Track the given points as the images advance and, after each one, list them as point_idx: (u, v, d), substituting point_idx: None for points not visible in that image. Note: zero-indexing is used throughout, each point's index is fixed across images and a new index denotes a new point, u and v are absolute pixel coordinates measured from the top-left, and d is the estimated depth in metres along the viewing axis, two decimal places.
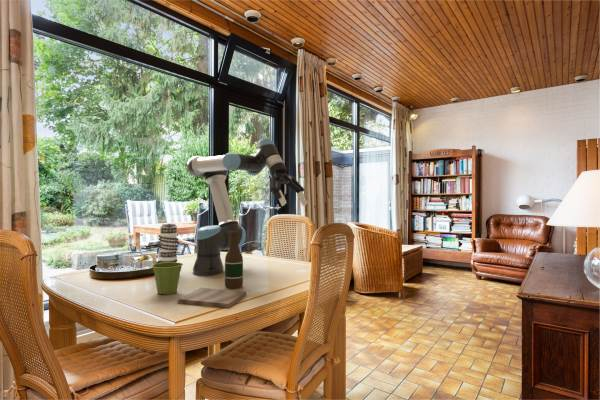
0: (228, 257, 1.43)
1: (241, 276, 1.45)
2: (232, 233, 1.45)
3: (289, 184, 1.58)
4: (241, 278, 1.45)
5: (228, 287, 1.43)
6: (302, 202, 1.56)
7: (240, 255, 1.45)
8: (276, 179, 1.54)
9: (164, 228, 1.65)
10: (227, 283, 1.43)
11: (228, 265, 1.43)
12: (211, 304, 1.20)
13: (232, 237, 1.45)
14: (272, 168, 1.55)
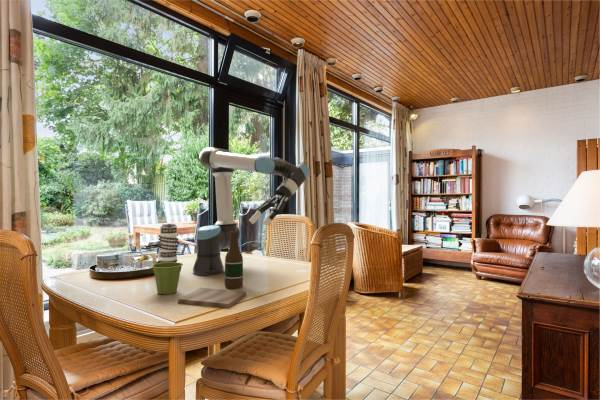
0: (228, 257, 1.43)
1: (241, 276, 1.45)
2: (232, 233, 1.45)
3: (269, 204, 1.59)
4: (241, 278, 1.45)
5: (228, 287, 1.43)
6: (252, 219, 1.58)
7: (240, 255, 1.45)
8: (279, 200, 1.55)
9: (164, 228, 1.65)
10: (227, 283, 1.43)
11: (228, 265, 1.43)
12: (211, 304, 1.20)
13: (232, 237, 1.45)
14: (288, 192, 1.57)
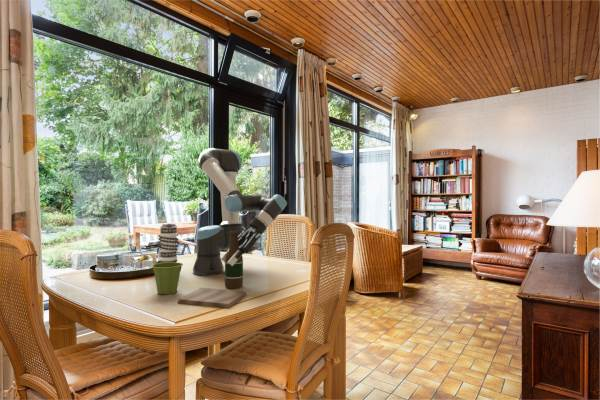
0: (228, 257, 1.43)
1: (241, 276, 1.45)
2: (232, 233, 1.45)
3: (243, 238, 1.51)
4: (241, 278, 1.45)
5: (228, 287, 1.43)
6: (224, 257, 1.48)
7: None
8: (252, 234, 1.47)
9: (164, 228, 1.65)
10: (227, 283, 1.43)
11: (228, 265, 1.43)
12: (211, 304, 1.20)
13: (232, 237, 1.45)
14: (262, 226, 1.50)
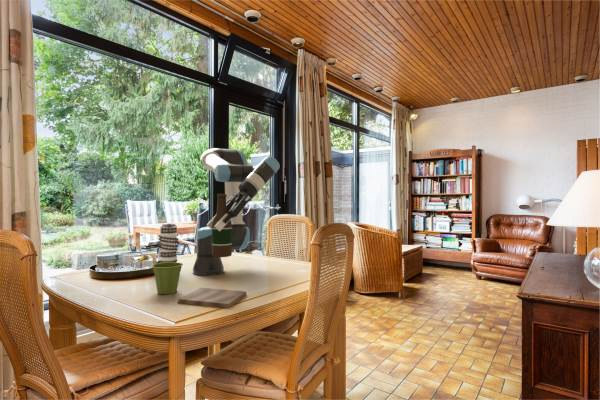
0: (215, 222, 1.29)
1: (230, 243, 1.31)
2: (219, 195, 1.30)
3: (231, 203, 1.36)
4: (230, 246, 1.31)
5: (215, 255, 1.29)
6: (211, 223, 1.33)
7: None
8: (242, 197, 1.33)
9: (164, 228, 1.65)
10: (214, 251, 1.29)
11: (215, 230, 1.28)
12: (211, 304, 1.20)
13: (219, 200, 1.30)
14: (253, 189, 1.35)
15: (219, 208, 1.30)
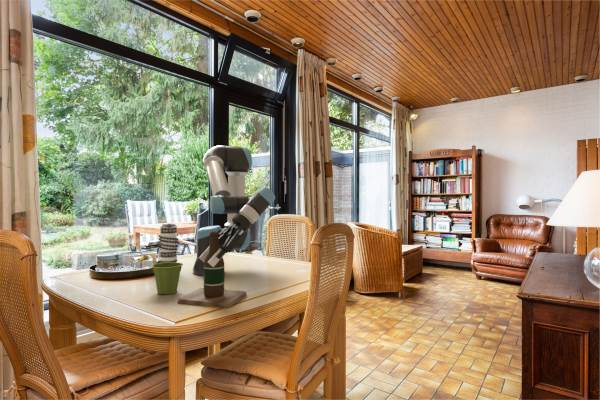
0: (207, 261, 1.26)
1: (222, 283, 1.28)
2: (212, 234, 1.27)
3: (224, 236, 1.34)
4: (222, 285, 1.28)
5: (207, 295, 1.26)
6: (203, 256, 1.31)
7: (221, 259, 1.28)
8: (235, 232, 1.30)
9: (164, 228, 1.65)
10: (206, 291, 1.26)
11: (207, 270, 1.26)
12: (211, 304, 1.20)
13: (212, 238, 1.27)
14: (246, 222, 1.32)
15: (211, 247, 1.27)
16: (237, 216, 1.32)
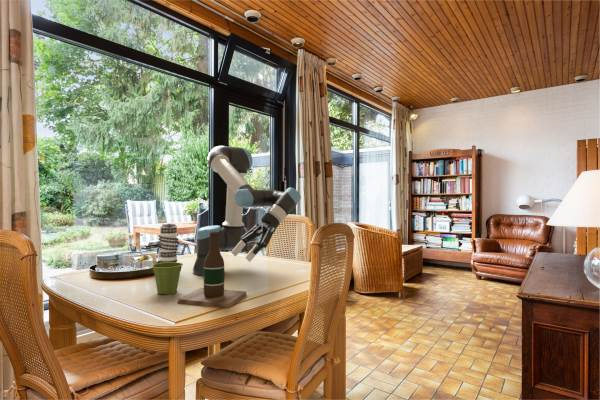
0: (207, 261, 1.26)
1: (222, 283, 1.28)
2: (212, 234, 1.27)
3: (254, 233, 1.42)
4: (222, 285, 1.28)
5: (207, 295, 1.26)
6: (235, 250, 1.40)
7: (221, 259, 1.28)
8: (265, 230, 1.37)
9: (164, 228, 1.65)
10: (206, 291, 1.26)
11: (207, 270, 1.26)
12: (211, 304, 1.20)
13: (212, 238, 1.27)
14: (275, 221, 1.39)
15: (211, 247, 1.27)
16: (266, 215, 1.40)
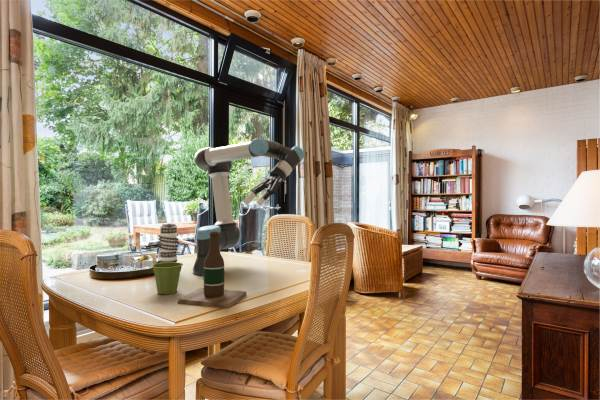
0: (207, 261, 1.26)
1: (222, 283, 1.28)
2: (212, 234, 1.27)
3: (263, 185, 1.60)
4: (222, 285, 1.28)
5: (207, 295, 1.26)
6: (246, 200, 1.59)
7: (221, 259, 1.28)
8: (273, 181, 1.55)
9: (164, 228, 1.65)
10: (206, 291, 1.26)
11: (207, 270, 1.26)
12: (211, 304, 1.20)
13: (212, 238, 1.27)
14: (282, 174, 1.58)
15: (211, 247, 1.27)
16: (274, 169, 1.58)
